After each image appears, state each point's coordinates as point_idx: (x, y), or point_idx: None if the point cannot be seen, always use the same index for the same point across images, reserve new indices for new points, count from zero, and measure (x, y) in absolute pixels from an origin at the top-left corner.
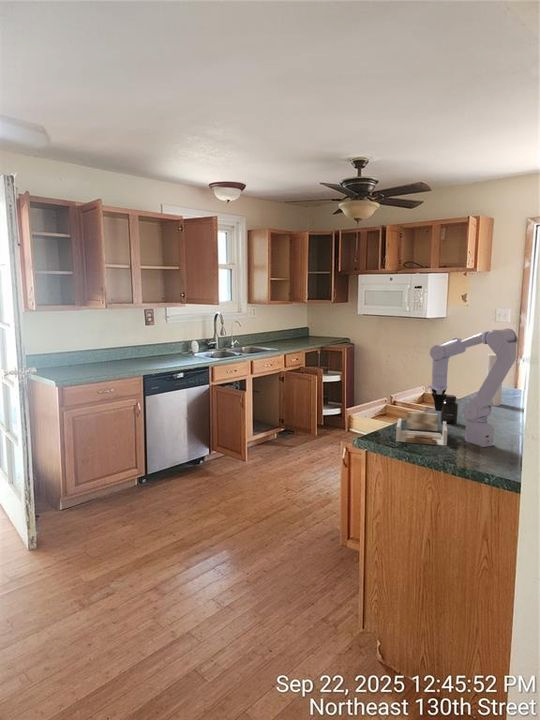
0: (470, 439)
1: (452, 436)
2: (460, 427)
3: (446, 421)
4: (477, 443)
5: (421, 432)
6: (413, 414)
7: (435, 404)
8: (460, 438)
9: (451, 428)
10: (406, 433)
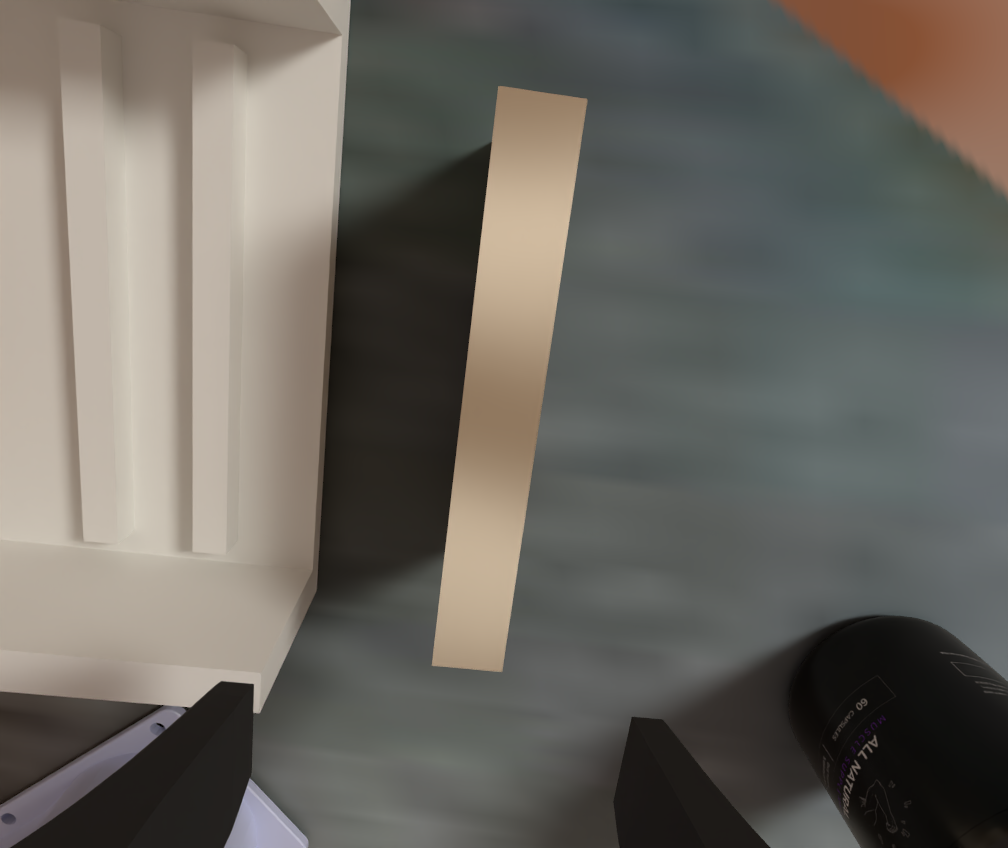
0: (47, 815)
1: (337, 656)
2: None
3: (815, 685)
4: (4, 845)
5: (193, 322)
6: (484, 230)
7: (113, 788)
8: (281, 718)
9: (655, 688)
10: (65, 85)
